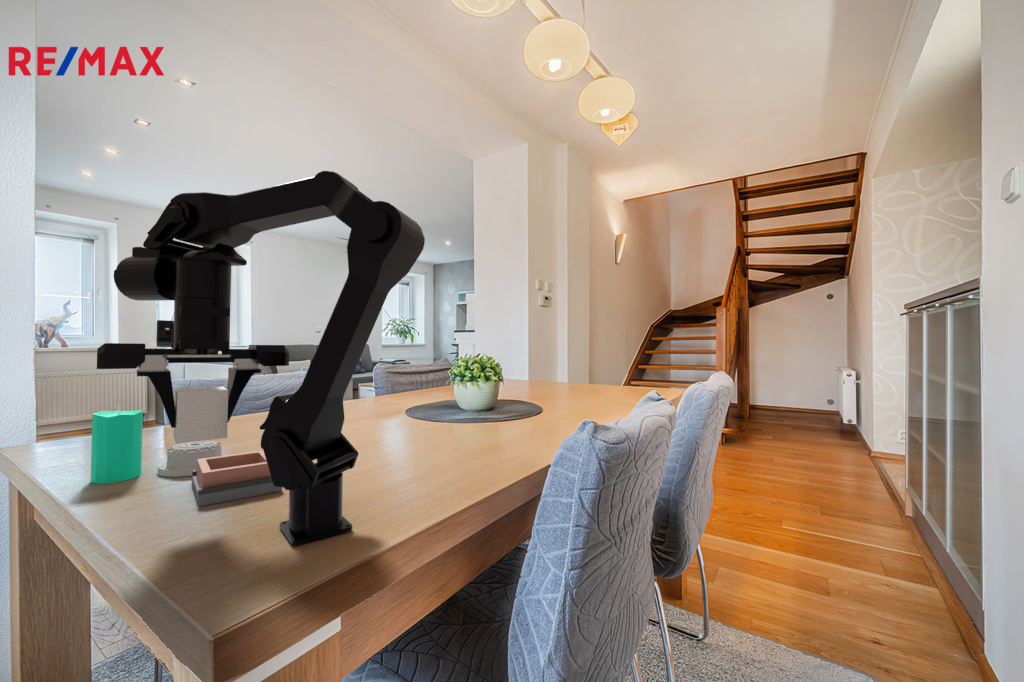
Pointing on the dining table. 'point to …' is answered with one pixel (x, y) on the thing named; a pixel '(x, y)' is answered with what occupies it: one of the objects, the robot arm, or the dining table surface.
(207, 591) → the dining table surface
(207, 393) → the block
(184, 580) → the dining table surface
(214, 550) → the dining table surface
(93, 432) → the candle
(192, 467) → the mechanical component
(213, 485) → the frame
